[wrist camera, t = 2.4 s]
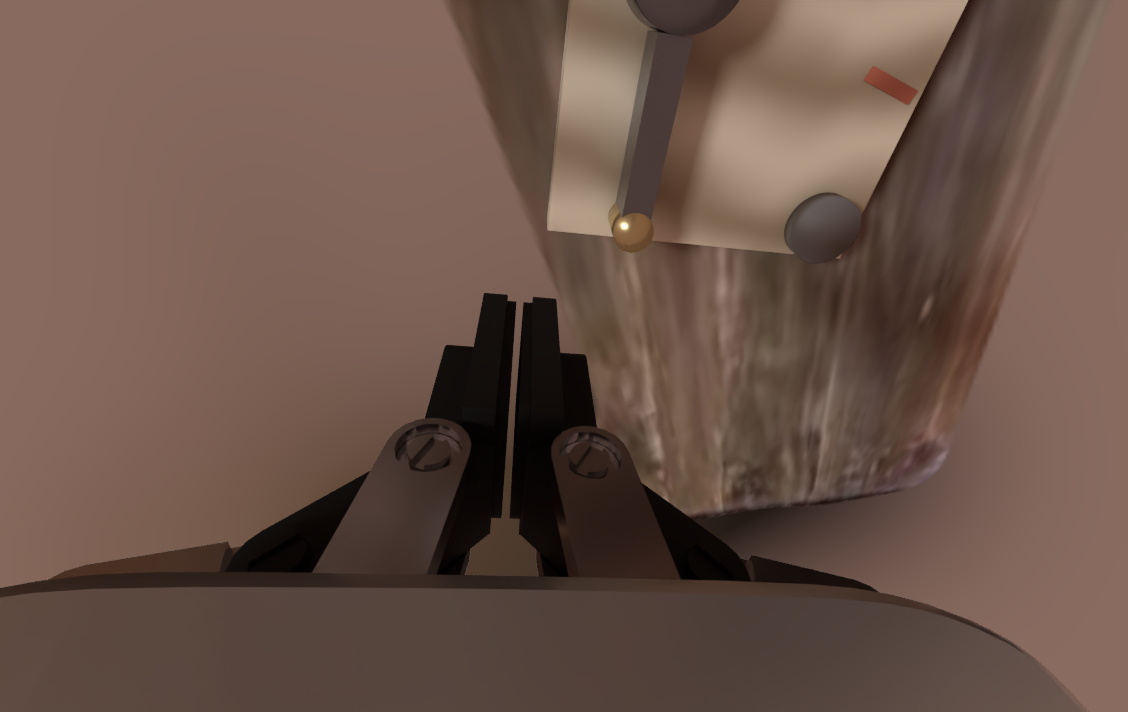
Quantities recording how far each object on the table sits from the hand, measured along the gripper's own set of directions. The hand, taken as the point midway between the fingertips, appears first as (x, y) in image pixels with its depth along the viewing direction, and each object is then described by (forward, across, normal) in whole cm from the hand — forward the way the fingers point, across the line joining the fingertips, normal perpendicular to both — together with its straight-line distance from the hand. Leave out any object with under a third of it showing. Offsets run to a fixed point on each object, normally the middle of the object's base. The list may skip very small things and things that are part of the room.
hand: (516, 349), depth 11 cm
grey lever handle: (+18, -6, -4) cm, 19 cm away
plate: (+20, -11, -6) cm, 24 cm away
